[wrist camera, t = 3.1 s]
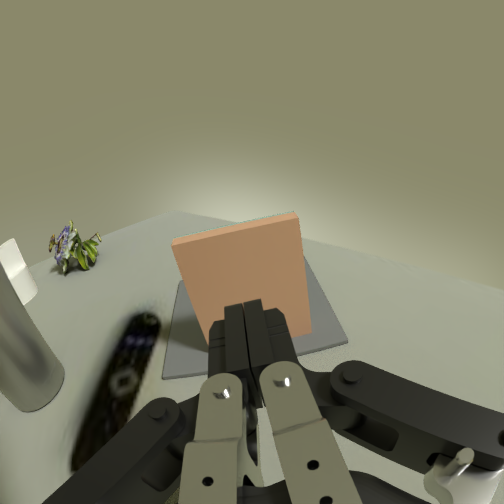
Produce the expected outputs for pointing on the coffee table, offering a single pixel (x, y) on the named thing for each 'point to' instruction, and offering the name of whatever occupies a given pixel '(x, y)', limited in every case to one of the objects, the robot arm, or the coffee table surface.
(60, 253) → the passion flower
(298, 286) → the tile
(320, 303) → the mat
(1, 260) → the cylinder with rectangular tab
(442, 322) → the coffee table surface
